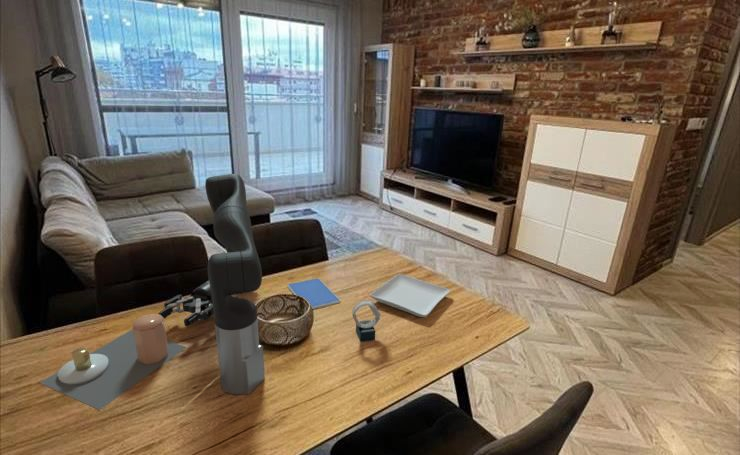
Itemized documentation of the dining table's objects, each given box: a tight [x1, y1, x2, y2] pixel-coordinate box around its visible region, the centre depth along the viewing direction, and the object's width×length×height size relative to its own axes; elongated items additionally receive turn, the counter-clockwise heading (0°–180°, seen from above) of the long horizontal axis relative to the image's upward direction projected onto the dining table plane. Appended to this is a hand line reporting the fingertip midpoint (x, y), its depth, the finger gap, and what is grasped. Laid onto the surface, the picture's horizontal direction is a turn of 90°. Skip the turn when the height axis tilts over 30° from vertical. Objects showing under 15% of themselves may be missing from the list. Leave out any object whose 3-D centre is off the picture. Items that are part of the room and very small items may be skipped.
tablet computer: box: [286, 277, 341, 310], centre depth 137 cm, size 19×13×1 cm, turn 30°
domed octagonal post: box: [132, 313, 168, 364], centre depth 100 cm, size 7×7×10 cm
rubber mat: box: [39, 328, 188, 411], centre depth 98 cm, size 20×24×1 cm
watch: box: [352, 299, 381, 343], centre depth 113 cm, size 6×8×11 cm
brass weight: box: [71, 346, 92, 371], centre depth 95 cm, size 3×3×4 cm
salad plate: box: [369, 273, 451, 318], centre depth 135 cm, size 21×21×3 cm
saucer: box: [57, 353, 109, 385], centre depth 95 cm, size 10×10×1 cm
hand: (172, 320), depth 107 cm, fingers open, 8 cm apart
